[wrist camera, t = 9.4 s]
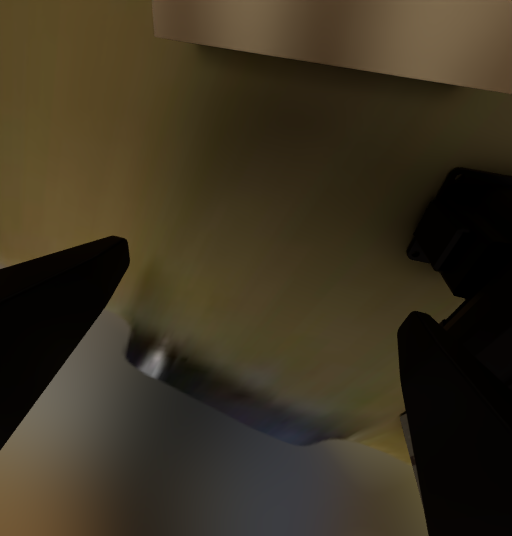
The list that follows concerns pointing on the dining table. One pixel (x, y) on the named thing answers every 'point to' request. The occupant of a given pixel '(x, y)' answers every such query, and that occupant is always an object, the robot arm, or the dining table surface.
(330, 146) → the dining table surface
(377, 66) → the socket block
